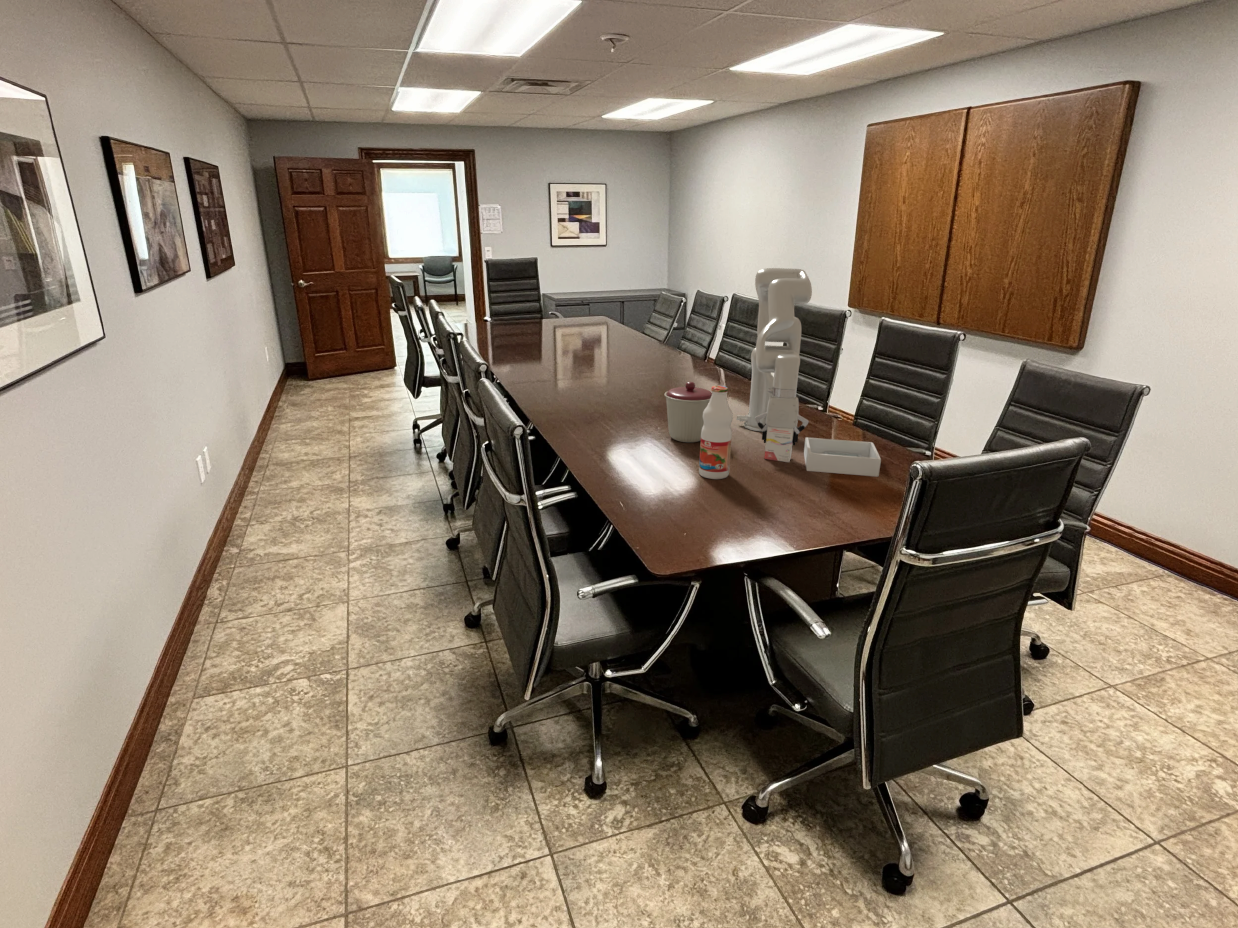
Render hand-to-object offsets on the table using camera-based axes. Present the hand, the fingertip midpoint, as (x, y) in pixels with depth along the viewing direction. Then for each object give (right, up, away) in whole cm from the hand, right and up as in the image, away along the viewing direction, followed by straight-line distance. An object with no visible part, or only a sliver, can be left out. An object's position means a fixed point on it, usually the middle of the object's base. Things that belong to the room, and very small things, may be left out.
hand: (779, 443), depth 231 cm
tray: (+19, -7, -2) cm, 21 cm away
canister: (-29, +2, +22) cm, 36 cm away
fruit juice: (-24, -10, -14) cm, 29 cm away
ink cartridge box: (0, -5, +2) cm, 6 cm away
